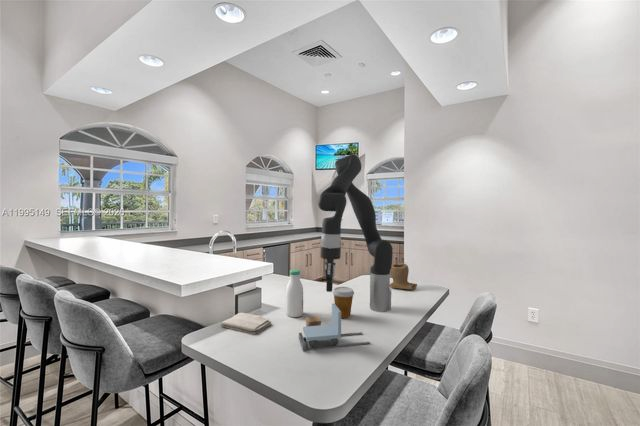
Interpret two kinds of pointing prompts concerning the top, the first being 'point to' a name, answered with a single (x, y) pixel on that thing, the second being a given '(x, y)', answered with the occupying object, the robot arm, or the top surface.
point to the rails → (330, 345)
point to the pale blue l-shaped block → (325, 329)
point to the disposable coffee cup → (343, 300)
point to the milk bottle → (294, 295)
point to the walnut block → (313, 321)
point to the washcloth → (246, 323)
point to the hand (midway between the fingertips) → (329, 291)
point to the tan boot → (401, 277)
